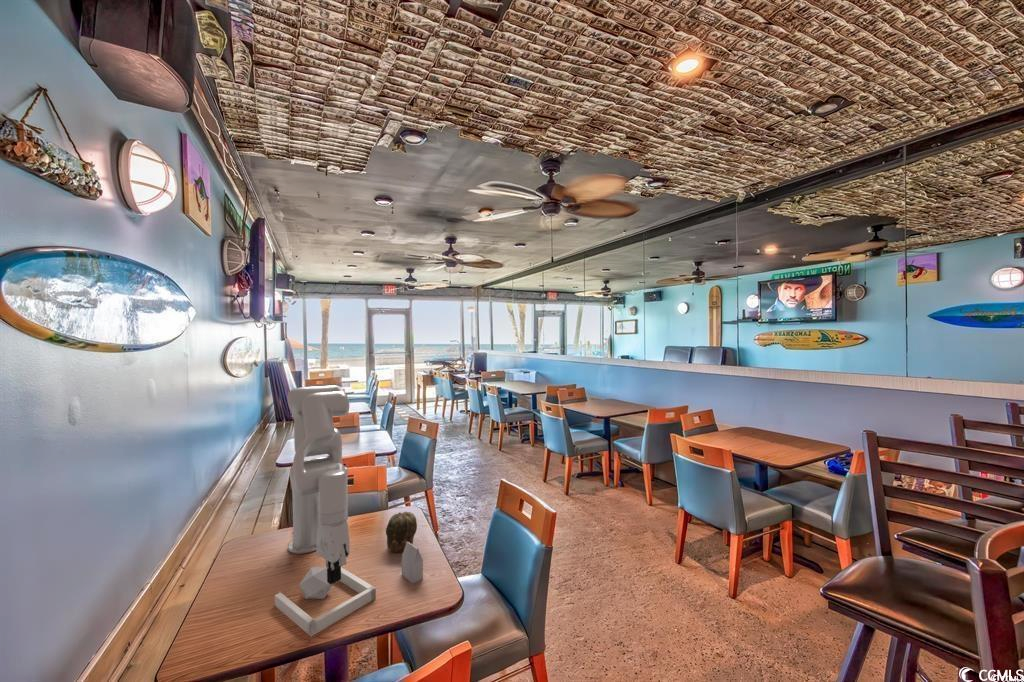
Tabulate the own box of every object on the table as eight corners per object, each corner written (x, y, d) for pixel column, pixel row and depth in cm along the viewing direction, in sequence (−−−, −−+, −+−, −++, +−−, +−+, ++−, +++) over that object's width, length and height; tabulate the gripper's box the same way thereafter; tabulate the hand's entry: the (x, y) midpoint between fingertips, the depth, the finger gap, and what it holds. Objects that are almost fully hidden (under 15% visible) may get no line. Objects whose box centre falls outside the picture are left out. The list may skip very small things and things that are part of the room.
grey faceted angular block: (412, 583, 125) (412, 551, 125) (401, 574, 130) (401, 543, 130) (423, 578, 127) (422, 547, 127) (411, 569, 132) (411, 539, 132)
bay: (274, 605, 115) (274, 595, 115) (337, 574, 130) (337, 565, 130) (311, 636, 102) (310, 624, 102) (375, 598, 118) (375, 587, 118)
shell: (422, 547, 147) (422, 514, 147) (393, 557, 140) (393, 523, 140) (409, 536, 155) (408, 505, 155) (381, 545, 148) (381, 513, 148)
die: (311, 611, 113) (333, 578, 116) (288, 593, 114) (310, 560, 117) (323, 604, 121) (344, 573, 124) (301, 587, 122) (322, 556, 125)
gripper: (306, 514, 115) (307, 579, 115) (335, 527, 106) (335, 597, 106) (331, 505, 121) (332, 567, 121) (360, 517, 112) (361, 583, 112)
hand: (334, 581), depth 113 cm, fingers closed
